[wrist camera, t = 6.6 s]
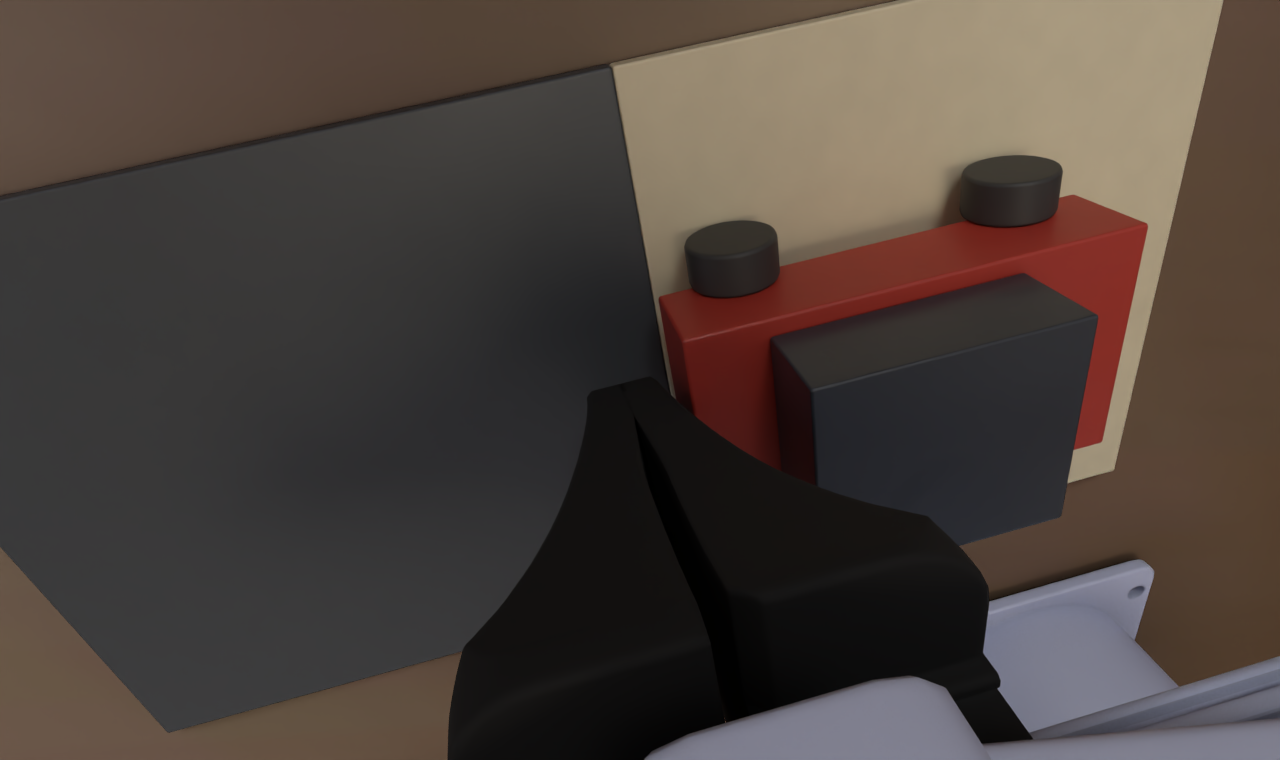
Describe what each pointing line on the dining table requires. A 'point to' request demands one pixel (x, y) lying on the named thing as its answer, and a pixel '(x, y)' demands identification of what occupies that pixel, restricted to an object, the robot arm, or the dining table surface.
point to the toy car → (919, 350)
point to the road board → (483, 314)
